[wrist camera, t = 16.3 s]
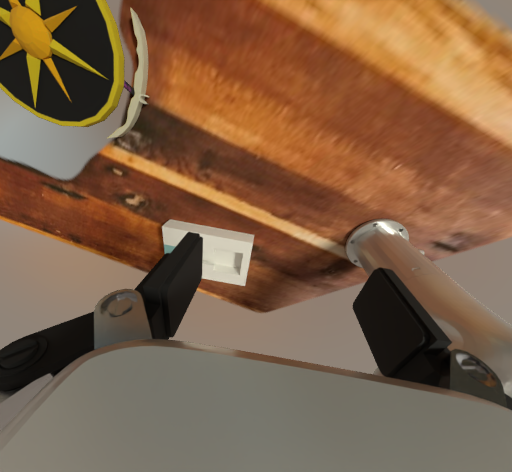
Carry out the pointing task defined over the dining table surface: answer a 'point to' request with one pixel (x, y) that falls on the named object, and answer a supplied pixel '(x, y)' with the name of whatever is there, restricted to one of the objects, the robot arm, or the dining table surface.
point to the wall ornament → (68, 61)
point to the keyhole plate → (215, 250)
